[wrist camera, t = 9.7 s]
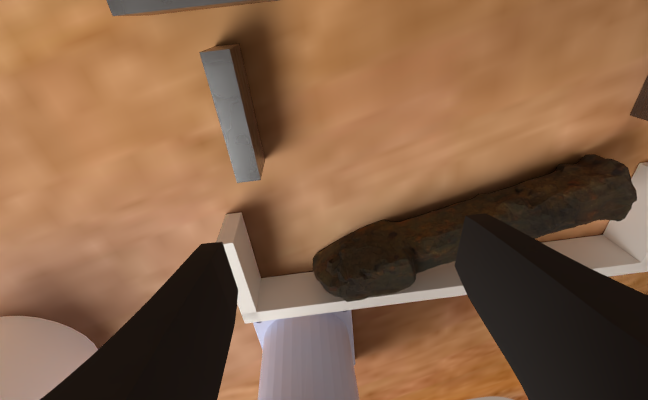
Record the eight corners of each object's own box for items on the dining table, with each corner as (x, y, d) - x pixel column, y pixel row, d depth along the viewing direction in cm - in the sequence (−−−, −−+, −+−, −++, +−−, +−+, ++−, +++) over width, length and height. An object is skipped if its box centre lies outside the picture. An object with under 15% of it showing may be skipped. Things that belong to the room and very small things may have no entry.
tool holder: (649, 112, 18) (709, 129, 15) (197, 167, 17) (180, 194, 15) (837, -273, 10) (1010, -364, 8) (68, -193, 10) (-9, -263, 8)
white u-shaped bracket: (610, 243, 23) (648, 271, 21) (250, 289, 23) (244, 323, 20) (654, 161, 20) (708, 183, 17) (225, 214, 19) (214, 245, 17)
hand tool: (588, 142, 19) (666, 176, 15) (578, 194, 21) (643, 236, 17) (301, 223, 20) (302, 273, 16) (318, 264, 22) (322, 317, 19)
